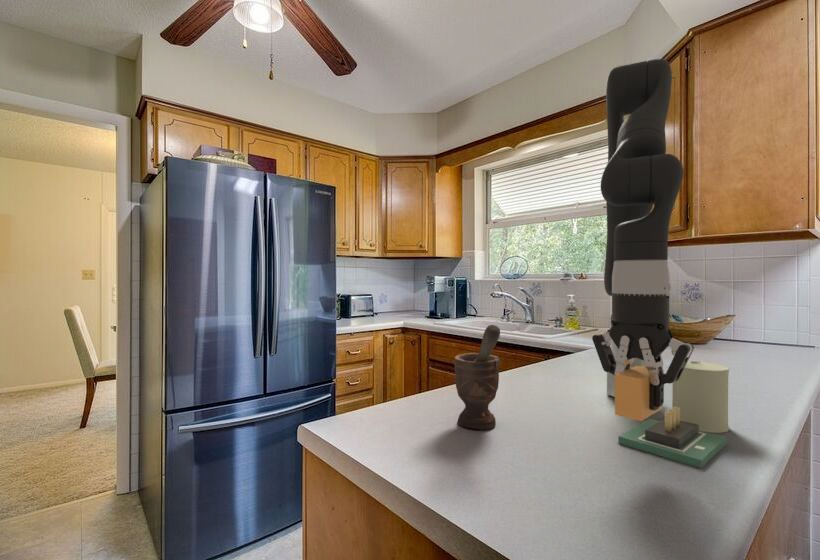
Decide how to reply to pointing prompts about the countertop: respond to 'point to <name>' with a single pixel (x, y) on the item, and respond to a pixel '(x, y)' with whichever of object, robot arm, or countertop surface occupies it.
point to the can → (703, 396)
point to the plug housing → (633, 394)
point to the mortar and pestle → (478, 382)
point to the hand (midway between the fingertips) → (639, 404)
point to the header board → (672, 454)
